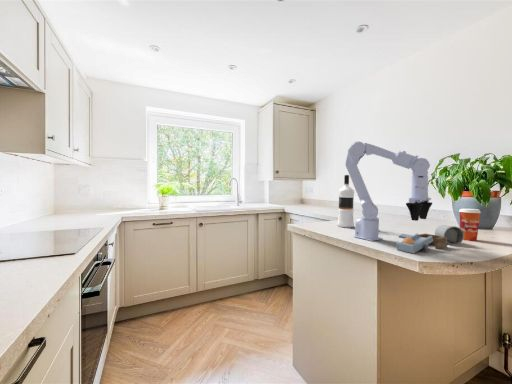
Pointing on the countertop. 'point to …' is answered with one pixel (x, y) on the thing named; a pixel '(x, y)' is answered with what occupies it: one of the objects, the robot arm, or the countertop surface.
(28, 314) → the countertop surface
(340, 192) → the vodka
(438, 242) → the pocket
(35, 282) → the countertop surface
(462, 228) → the paper cup
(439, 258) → the countertop surface
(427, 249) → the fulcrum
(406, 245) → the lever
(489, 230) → the countertop surface
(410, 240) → the ball
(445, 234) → the ceramic mug
